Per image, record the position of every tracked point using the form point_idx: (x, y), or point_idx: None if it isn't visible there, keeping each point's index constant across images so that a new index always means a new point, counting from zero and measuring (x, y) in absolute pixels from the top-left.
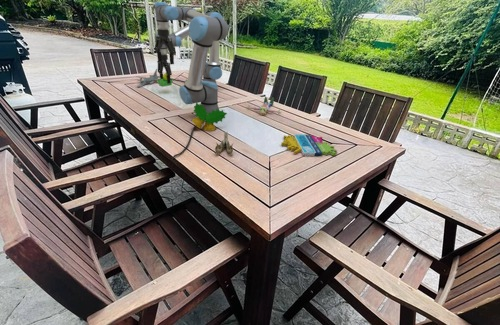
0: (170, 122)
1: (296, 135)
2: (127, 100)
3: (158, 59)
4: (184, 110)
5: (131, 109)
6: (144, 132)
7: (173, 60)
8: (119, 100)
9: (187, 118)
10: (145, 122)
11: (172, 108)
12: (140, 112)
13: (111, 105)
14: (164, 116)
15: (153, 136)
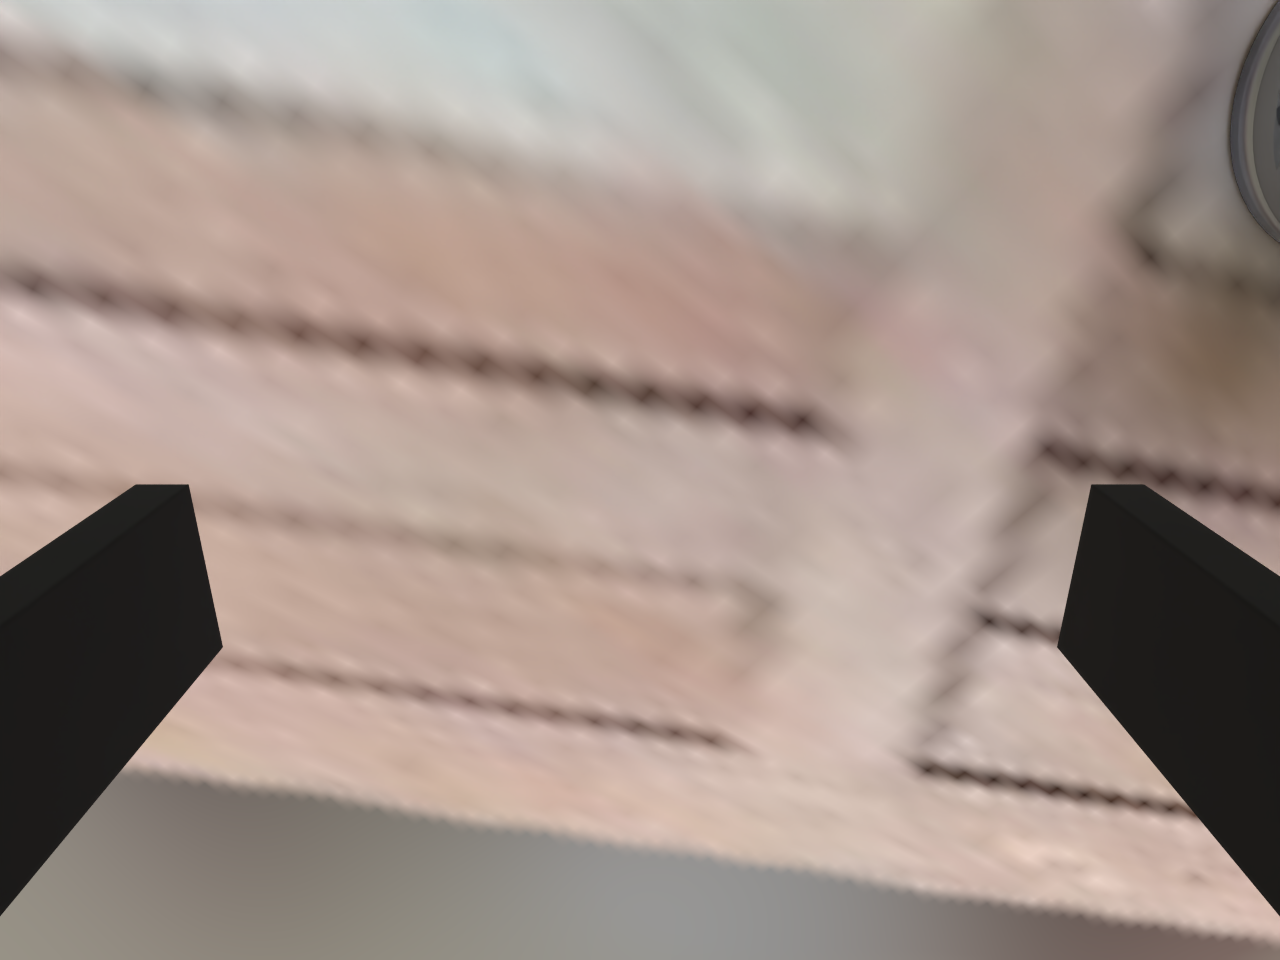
0: None
1: None
2: None
3: (176, 702)
4: (963, 249)
5: (462, 700)
6: (1105, 912)
7: (1254, 579)
8: None
9: (1210, 436)
10: (922, 800)
11: (766, 321)
12: (624, 687)
13: (192, 772)
14: (934, 583)
15: (1231, 910)
